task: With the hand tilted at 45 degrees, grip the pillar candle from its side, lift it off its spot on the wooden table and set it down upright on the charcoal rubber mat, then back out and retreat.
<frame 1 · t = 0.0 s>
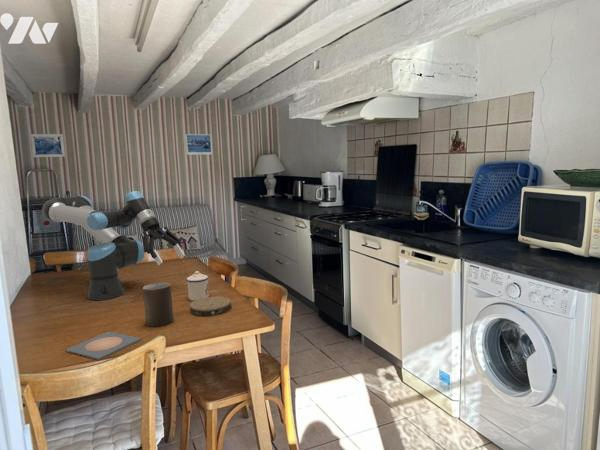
hand: (172, 260, 192), 15 cm above the table, tool tilted 35°, fingers open, 13 cm apart
pillar candle: (160, 322, 158), on the table
teacup with lid: (198, 297, 187), on the table
mat: (104, 345, 139), on the table
wood log slice: (211, 310, 170), on the table
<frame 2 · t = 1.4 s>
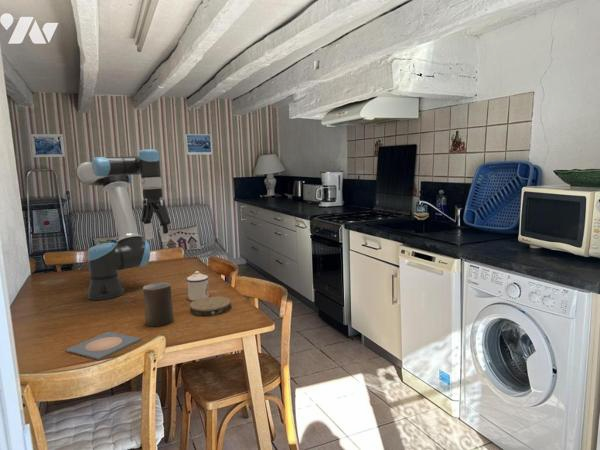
hand: (157, 240, 176), 27 cm above the table, tool pointing down, fingers open, 13 cm apart
nothing on the table moved.
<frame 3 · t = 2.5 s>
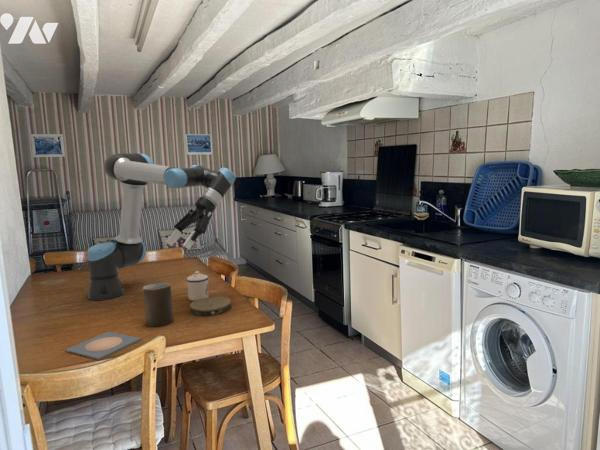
hand: (177, 245, 161), 27 cm above the table, tool tilted 45°, fingers open, 13 cm apart
nothing on the table moved.
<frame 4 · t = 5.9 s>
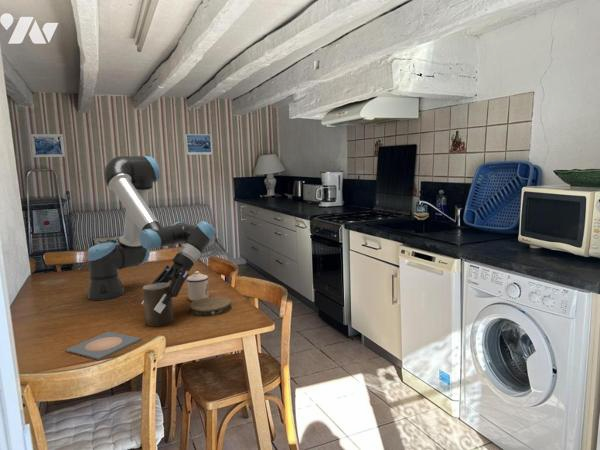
hand: (150, 308, 155), 6 cm above the table, tool tilted 45°, fingers closed on pillar candle, 9 cm apart
pillar candle: (160, 322, 158), on the table, touching gripper
everything else where it was.
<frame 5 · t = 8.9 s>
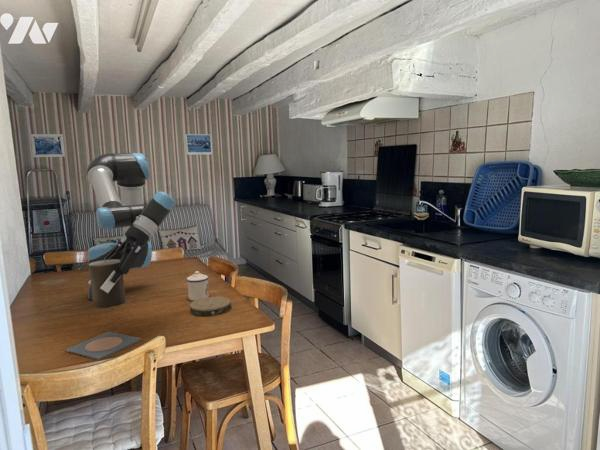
hand: (97, 287, 136), 19 cm above the table, tool tilted 45°, fingers closed on pillar candle, 9 cm apart
pillar candle: (110, 303, 139), point 13 cm above the table, touching gripper
everything else where it was.
when the fingers open (8 cm above the table, at t = 11.8 s): pillar candle drops 1 cm, resting on mat.
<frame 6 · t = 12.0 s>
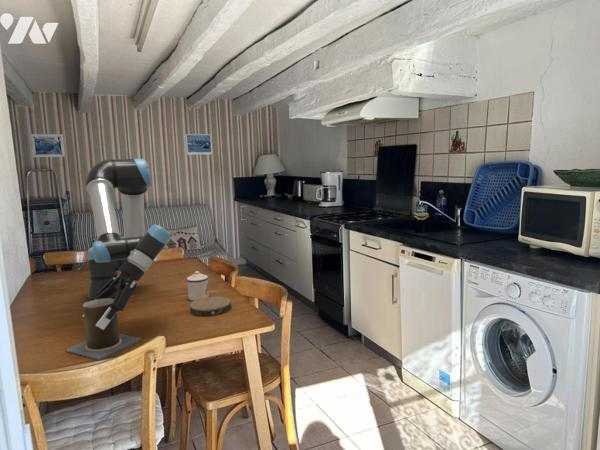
hand: (92, 323, 136), 8 cm above the table, tool tilted 45°, fingers open, 11 cm apart
pillar candle: (103, 343, 139), resting on mat
everything else where it was.
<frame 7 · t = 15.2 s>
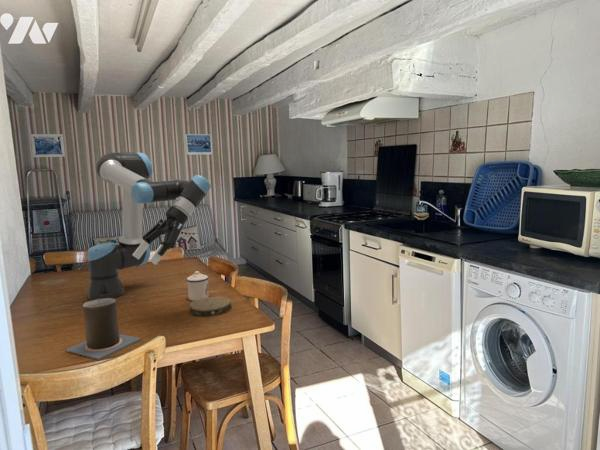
hand: (143, 260, 148), 25 cm above the table, tool tilted 45°, fingers open, 13 cm apart
nothing on the table moved.
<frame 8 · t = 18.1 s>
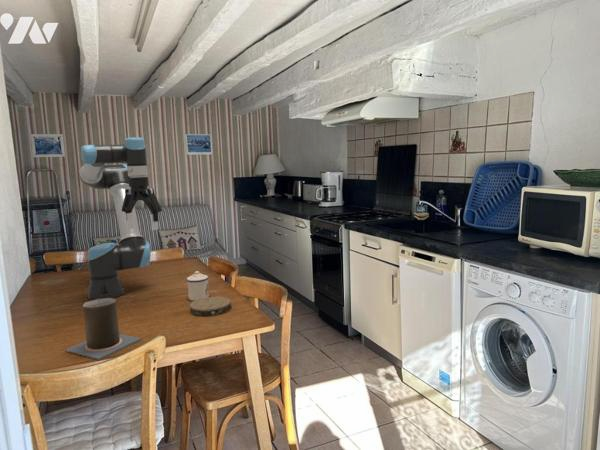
hand: (143, 229, 175), 32 cm above the table, tool pointing down, fingers open, 13 cm apart
nothing on the table moved.
at the end: pillar candle inside the target area on the mat (0.4 cm from its centre), point 0.5 cm above the mat's base; pillar candle tilted 0°; the gripper is holding nothing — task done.
